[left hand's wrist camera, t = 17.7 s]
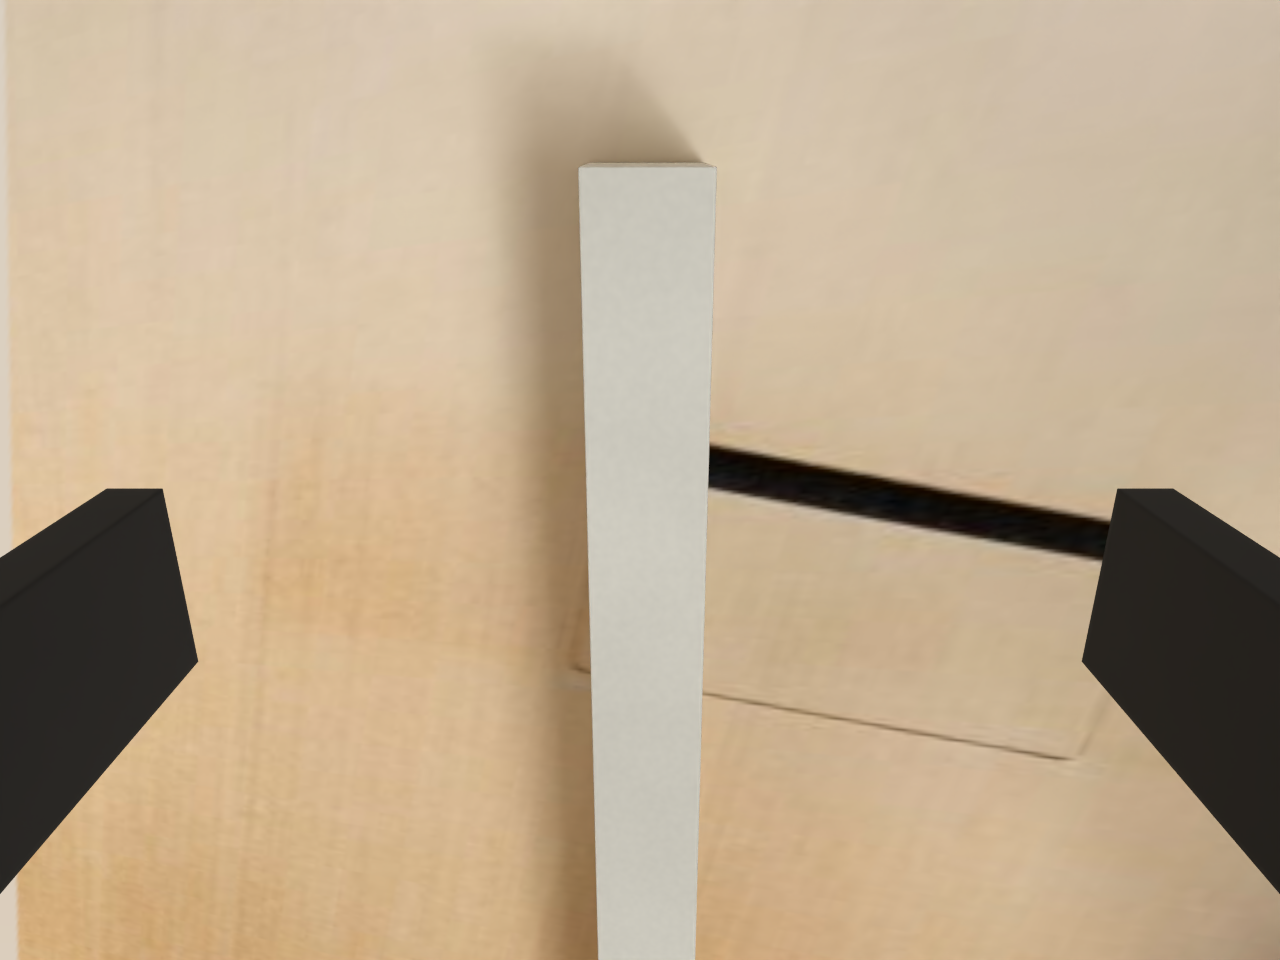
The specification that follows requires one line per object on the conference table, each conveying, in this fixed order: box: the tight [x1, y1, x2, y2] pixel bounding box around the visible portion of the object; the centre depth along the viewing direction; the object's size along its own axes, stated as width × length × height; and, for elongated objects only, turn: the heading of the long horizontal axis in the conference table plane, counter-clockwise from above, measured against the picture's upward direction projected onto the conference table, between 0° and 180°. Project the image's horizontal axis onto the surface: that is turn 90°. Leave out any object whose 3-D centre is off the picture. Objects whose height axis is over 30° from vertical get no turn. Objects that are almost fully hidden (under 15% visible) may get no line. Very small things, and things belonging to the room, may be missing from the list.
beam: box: [578, 163, 717, 960], centre depth 54 cm, size 83×6×7 cm, turn 0°
